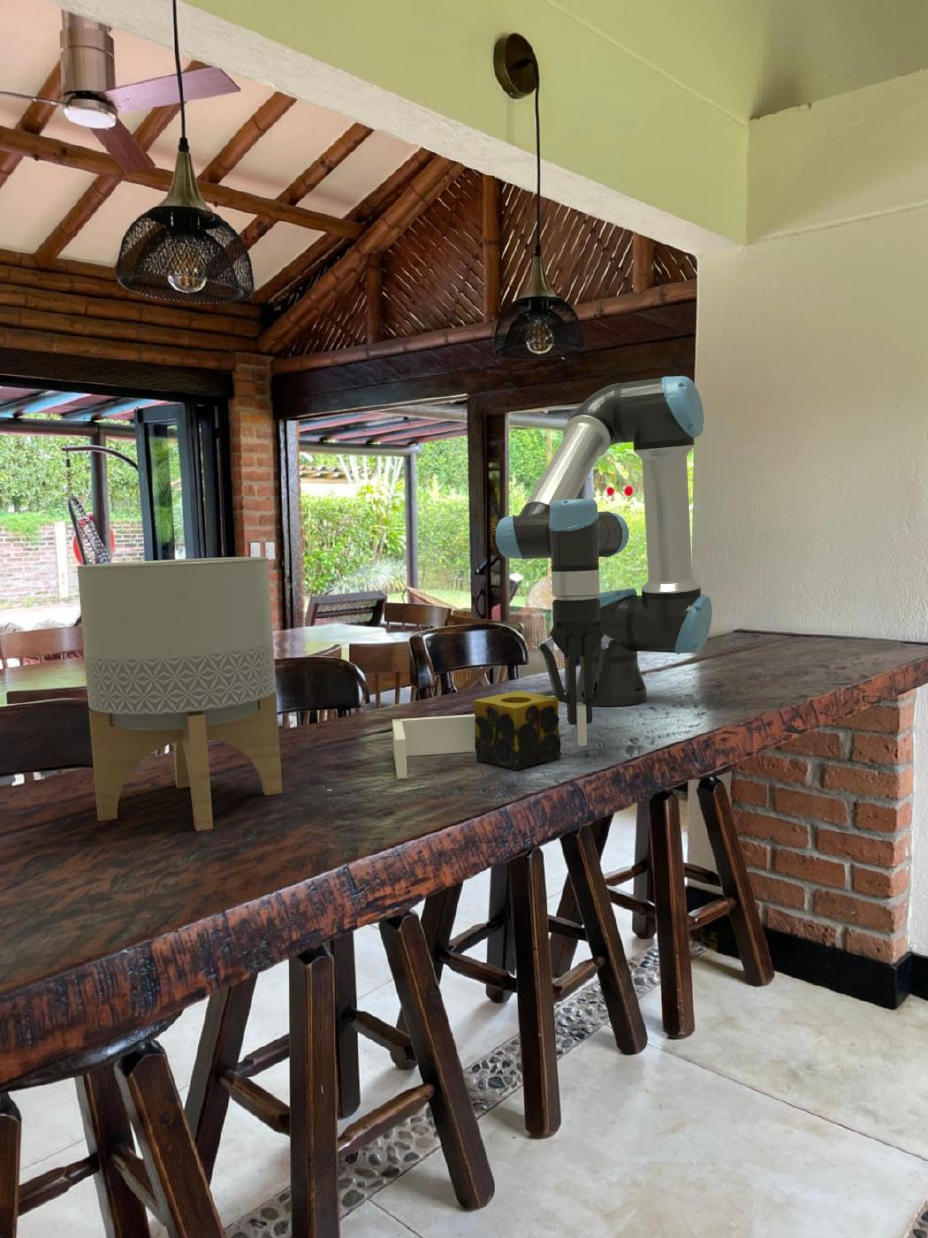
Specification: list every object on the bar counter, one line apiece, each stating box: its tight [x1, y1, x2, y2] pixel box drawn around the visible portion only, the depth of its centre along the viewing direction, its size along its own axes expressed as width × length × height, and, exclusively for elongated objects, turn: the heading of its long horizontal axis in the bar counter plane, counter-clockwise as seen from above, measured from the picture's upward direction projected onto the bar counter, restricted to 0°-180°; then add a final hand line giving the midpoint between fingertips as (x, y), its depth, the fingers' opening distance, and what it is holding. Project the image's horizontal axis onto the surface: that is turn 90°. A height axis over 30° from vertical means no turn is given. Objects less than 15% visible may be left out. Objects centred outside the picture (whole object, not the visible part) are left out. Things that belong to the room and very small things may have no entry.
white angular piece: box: [391, 714, 476, 780], centre depth 144 cm, size 20×15×6 cm
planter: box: [76, 556, 283, 832], centre depth 125 cm, size 25×25×34 cm
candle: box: [473, 690, 562, 771], centre depth 143 cm, size 10×10×10 cm
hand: (580, 743), depth 144 cm, fingers closed
